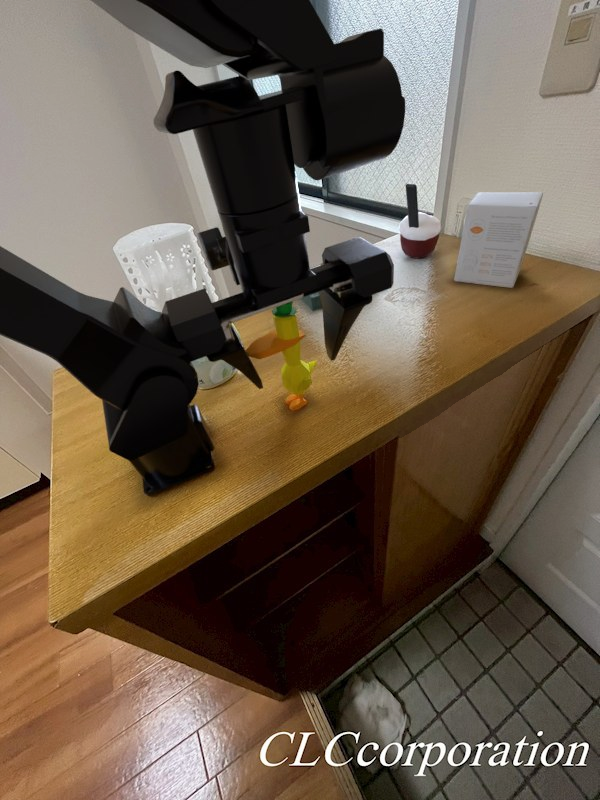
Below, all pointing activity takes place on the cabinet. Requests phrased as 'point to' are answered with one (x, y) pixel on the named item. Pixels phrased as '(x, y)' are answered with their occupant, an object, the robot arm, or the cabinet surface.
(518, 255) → the small box
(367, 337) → the cabinet surface
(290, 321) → the toy figure
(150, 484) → the robot arm
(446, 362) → the cabinet surface
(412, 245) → the red dessert cup
